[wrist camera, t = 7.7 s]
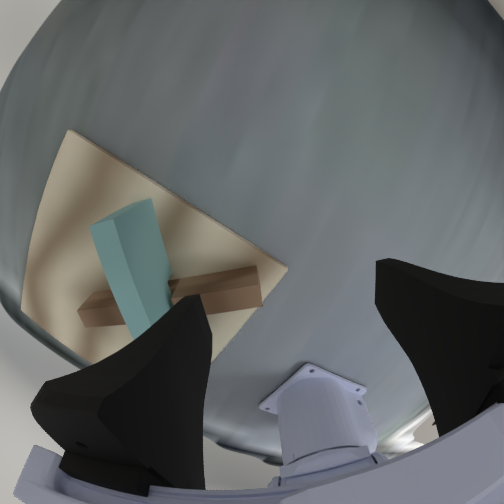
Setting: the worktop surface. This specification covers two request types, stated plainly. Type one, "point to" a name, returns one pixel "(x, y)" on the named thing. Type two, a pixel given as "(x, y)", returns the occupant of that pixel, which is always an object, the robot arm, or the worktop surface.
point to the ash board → (87, 260)
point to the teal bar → (135, 264)
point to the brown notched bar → (207, 285)
